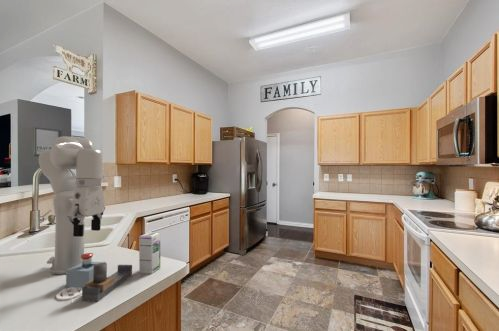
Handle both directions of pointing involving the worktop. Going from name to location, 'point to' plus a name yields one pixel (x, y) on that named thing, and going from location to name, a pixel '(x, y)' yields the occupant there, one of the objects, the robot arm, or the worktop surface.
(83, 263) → the plunger
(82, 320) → the worktop surface
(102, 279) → the carriage
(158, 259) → the syrup box
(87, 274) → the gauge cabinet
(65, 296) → the pendant
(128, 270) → the rail
